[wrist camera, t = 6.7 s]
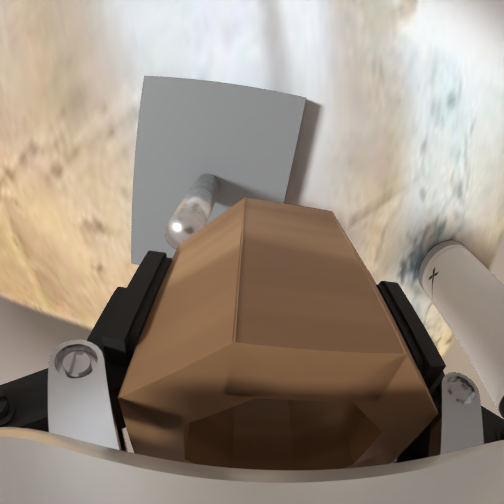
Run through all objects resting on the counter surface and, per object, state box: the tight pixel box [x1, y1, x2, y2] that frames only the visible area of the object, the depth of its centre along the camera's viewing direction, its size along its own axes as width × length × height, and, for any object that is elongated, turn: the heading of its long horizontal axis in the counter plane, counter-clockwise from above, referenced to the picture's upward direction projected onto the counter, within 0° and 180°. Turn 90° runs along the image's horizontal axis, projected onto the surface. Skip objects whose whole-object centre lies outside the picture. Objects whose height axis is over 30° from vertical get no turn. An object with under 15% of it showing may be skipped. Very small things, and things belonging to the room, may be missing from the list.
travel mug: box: [419, 241, 504, 418], centre depth 20 cm, size 6×7×20 cm
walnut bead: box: [118, 197, 438, 471], centre depth 8 cm, size 6×6×6 cm
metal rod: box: [165, 174, 220, 250], centre depth 20 cm, size 2×2×9 cm
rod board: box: [131, 76, 306, 265], centre depth 25 cm, size 16×12×2 cm
